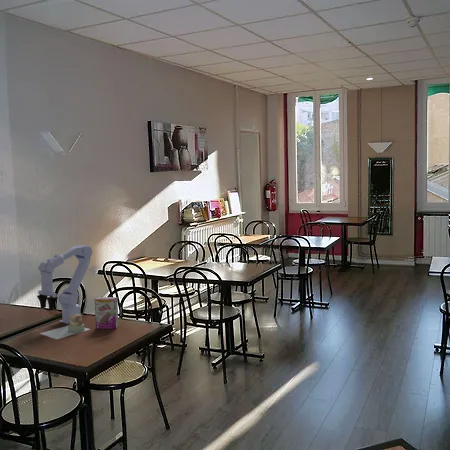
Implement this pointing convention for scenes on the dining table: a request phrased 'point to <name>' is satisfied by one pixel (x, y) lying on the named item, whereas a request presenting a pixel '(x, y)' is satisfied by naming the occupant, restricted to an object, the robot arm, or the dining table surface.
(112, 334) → the dining table surface
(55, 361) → the dining table surface
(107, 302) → the candy bar box
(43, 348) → the dining table surface
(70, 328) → the sage base block
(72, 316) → the maple block
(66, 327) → the mat
